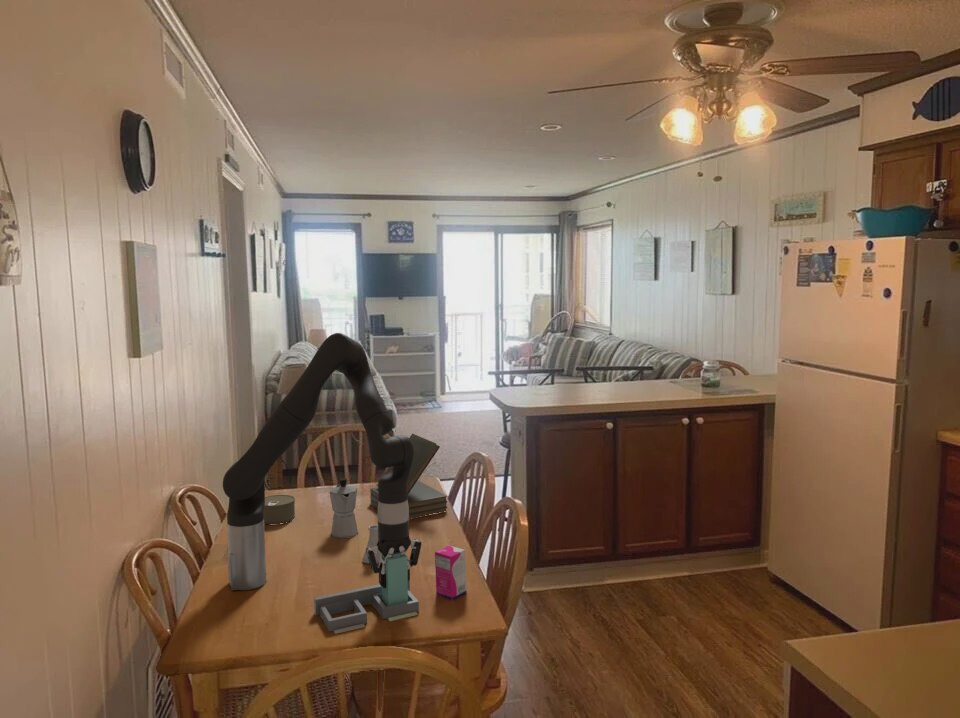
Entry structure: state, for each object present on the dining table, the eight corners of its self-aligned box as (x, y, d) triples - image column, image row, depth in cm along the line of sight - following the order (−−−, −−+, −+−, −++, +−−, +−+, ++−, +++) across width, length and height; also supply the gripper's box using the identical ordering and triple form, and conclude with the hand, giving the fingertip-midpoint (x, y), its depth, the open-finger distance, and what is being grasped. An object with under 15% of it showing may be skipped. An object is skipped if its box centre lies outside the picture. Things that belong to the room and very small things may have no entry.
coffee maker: (362, 538, 215) (361, 482, 213) (334, 542, 212) (332, 485, 210) (353, 523, 229) (351, 470, 227) (326, 526, 226) (325, 473, 224)
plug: (388, 608, 165) (387, 556, 163) (382, 599, 169) (380, 549, 168) (408, 604, 167) (407, 552, 166) (401, 595, 172) (400, 545, 170)
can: (300, 514, 239) (300, 495, 238) (287, 526, 227) (286, 506, 226) (267, 513, 240) (267, 494, 239) (252, 525, 228) (252, 505, 227)
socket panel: (326, 635, 155) (325, 619, 154) (314, 613, 166) (313, 597, 165) (425, 613, 165) (424, 597, 165) (407, 593, 176) (407, 578, 176)
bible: (370, 504, 249) (368, 437, 247) (419, 496, 259) (418, 431, 257) (396, 523, 230) (394, 450, 227) (447, 513, 240) (446, 443, 237)
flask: (382, 565, 194) (381, 531, 193) (358, 564, 195) (357, 530, 194) (390, 556, 201) (389, 523, 200) (367, 554, 202) (366, 521, 201)
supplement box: (450, 586, 180) (449, 544, 179) (467, 592, 176) (466, 549, 175) (434, 594, 176) (434, 551, 174) (452, 600, 172) (451, 556, 171)
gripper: (369, 527, 160) (371, 597, 161) (426, 517, 166) (427, 585, 168) (360, 517, 166) (361, 584, 168) (415, 509, 173) (416, 573, 174)
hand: (394, 584), depth 168 cm, fingers closed on plug, 5 cm apart
